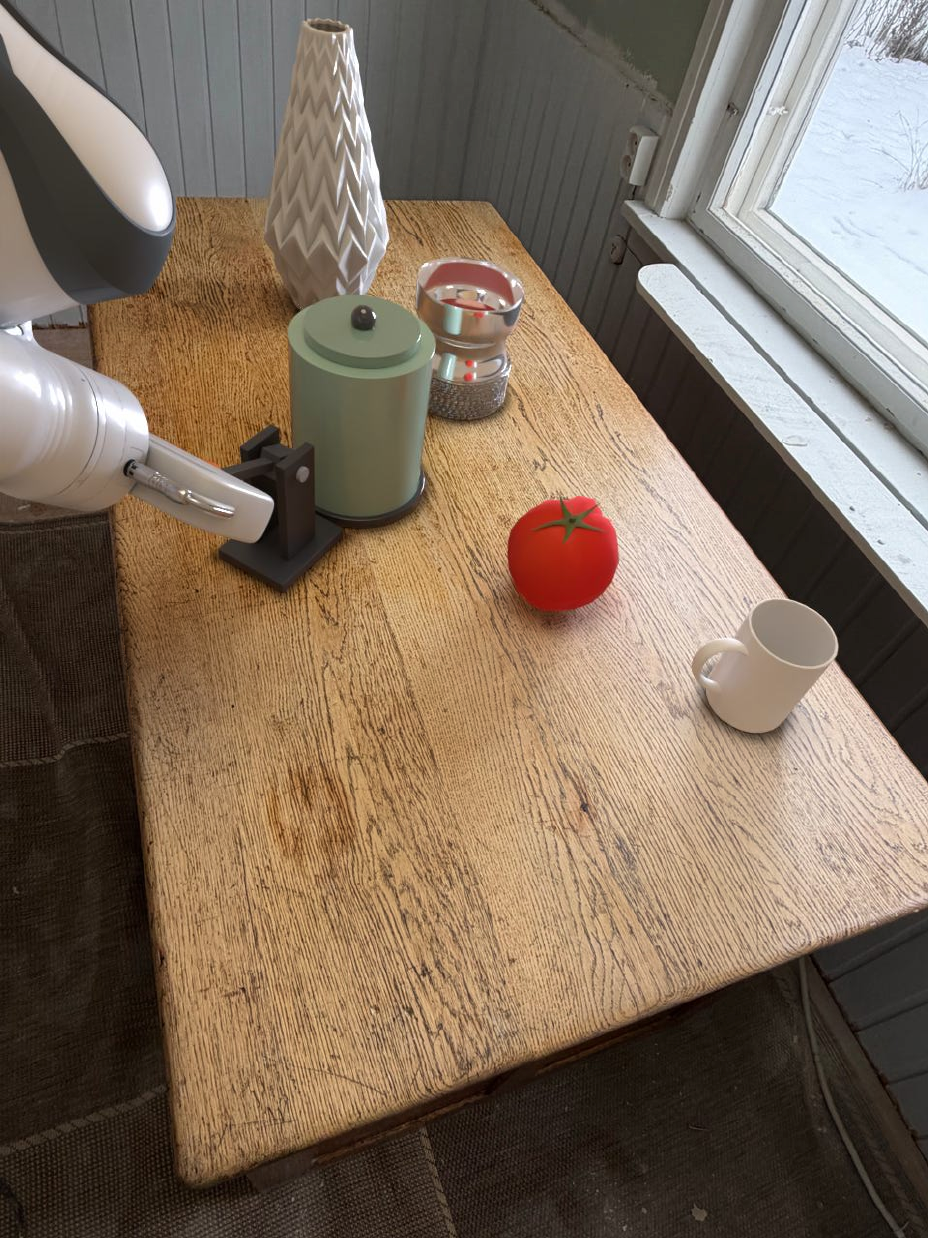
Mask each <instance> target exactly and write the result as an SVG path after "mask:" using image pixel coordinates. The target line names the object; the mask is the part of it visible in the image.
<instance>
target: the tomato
mask: <svg viewBox="0 0 928 1238" xmlns="http://www.w3.org/2000/svg"><path fill="white" fill-rule="evenodd" d="M558 497H559V499H546V500H545V501H542V502H540V503H539V504H537V505H536V506H534V507H532V508H530V509H529V510H527V511H526V513H525V514H523V515H522V516H521V517H520V518H519V519H517V521H516V523H514V525H513V526H512V528H511V530H510V532H509V535H508V539H507V552H506V554H507V565H508V572H509V574H510V576H511V579H512V582H513V584H514V587H515V590H516V591H517V593H518V594H520V596H521V597H522V598H523V599H524V600H525V601H526V602H527V603H528V604H529V605H530V606H531V607H534V608H535V609H538V610H540V611H542V612H543V611H544V612H546V611H547V612H562V611H574V610H577V609H579V608H582V607H584V606H587V605H590V604H591V603H593V602H594V601H595V600H597V599H598V598H599V597H600V596H602V595H603V594H604V593H605V592H606V591H607V589H608V588H609V587H610V586H611V584H612V583H613V580H614V577H615V574H616V571H617V570H618V566H619V563H620V553H619V543H618V537H617V531H616V528H615V527H614V525H613V524H612V522H611V520H610V519H609V518H607V517H605V516H604V514H603V511H602V509H601V508H600V506H599V505H600V504H601V502H599V503H597V501H595V499H594V498H591V497H586V496H583V495H576V496H574V497H571V498H569V499H567V500H565V499H563V498H562V496H560V495H559V496H558Z"/></svg>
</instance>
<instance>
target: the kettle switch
mask: <svg viewBox="0 0 928 1238" xmlns="http://www.w3.org/2000/svg"><path fill="white" fill-rule="evenodd" d="M293 451H295V450H293V449H292V447H289V446H287V445H285V444H283V443H281V442H280V443H279V444H275V445H270V446H266V447H262V450H261V455H260V459H256V460H252V461H248V462H244V463H241V462H240V463H236V464H233V465H232V464H231V465H228V466H224V467H220V466H219V465H218V464H216V463H215V462H213V461H212V460H209V459H204V458H200V459H201V460H203V461H205V462H207V463H209V464H211V465H213V466H214V467H216V468H218V469H220V470H222V471H224V472H226V473H228V474H230V475H232V476H234V477H236V478H237V479H239V480H241V481H243V480H244V479H247V478H251V477H255V476H258V475H262V474H263V475H265V476H267V477H269V478H271V479H273V480H275V481H276V467H275V466H276V464H278V463H279V462H280V461H282V460H283V459H284V458H286V457H287V456H288V455H289V454H291V453H292V452H293Z"/></svg>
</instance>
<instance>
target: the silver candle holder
mask: <svg viewBox="0 0 928 1238" xmlns="http://www.w3.org/2000/svg"><path fill="white" fill-rule="evenodd" d="M415 287H416V288H415V295H414V307H415V313H416V316H417V317H418V318H419V319H421V320H422V321H423V322H424V323H425V324H426V325H427V326H428V327H429V329H430V330H431V332H432V333H433V335H434V338H435V344H436V347H435V355H434V364H433V372H432V380H431V388H430V397H429V405H428V414H432V415H434V416H436V417H439V418H442V419H446V420H453V421H475V420H481V419H485V418H487V417H489V416H492V415H494V414H495V413H496V412H497V411H499V410H500V409H501V408H502V406H503V404H504V401H505V396H506V392H507V388H508V382H509V377H510V372H511V367H512V359H511V356H510V354H509V352H508V350H507V346H506V342H507V339H508V338H509V337H510V336H511V334H513V332H514V331H515V330H516V328H517V326H518V324H519V321H520V318H521V312H522V308H523V303H524V299H525V288H524V285H523V283H522V281H521V279H519V277H518V276H516V274H514V273H512V272H511V271H510V270H508V269H507V268H505V267H503V266H501V265H499V264H496V263H494V262H491V261H488V260H484V259H480V258H475V257H466V256H447V257H440V258H436V259H433V260H431V261H429V262H427V263H424V265H422V267H421V268H420V269H419V271H418V272H417V276H416V286H415Z"/></svg>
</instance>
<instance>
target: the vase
mask: <svg viewBox="0 0 928 1238" xmlns="http://www.w3.org/2000/svg"><path fill="white" fill-rule="evenodd" d="M300 29H301V30H300V34H299V36H298V42H297V46H296V52H295V61H294V63H293V66H292V70H291V77H290V87H289V96H288V99H287V104H286V108H285V112H284V116H283V120H282V127H281V130H280V134H279V141H278V144H277V145H278V146H277V151H276V155H275V157H274V164H273V173H272V177H271V182H270V187H269V191H268V195H267V202H266V210H265V214H264V219H263V227H264V231H263V241H264V242H265V243H266V245H267V246H268V248H269V249H270V251H271V252H272V254H273V260H274V265H275V268H276V270H277V273H278V274H279V276H280V278H281V280H282V283H283V284H284V286H285V288H286V290H287V291H288V294H289V295H290V298H291V300H292V303H293V304H294V306H295V307H296V308H297V309H298V310H299V312H300V311H302V310H303V309H305V308H307V307H309V306H311V305H314V304H315V303H317V302H319V301H321V300H324V299H326V298H330V297H334V296H340V295H367V294H368V293H369V291H370V288H371V286H372V283H373V282H374V279H375V277H376V272H377V269H378V267H379V263H380V262H381V261H382V260H383V258H384V256H385V255H386V251H387V245H388V244H389V241H390V234H389V233H390V232H389V228H388V227H389V226H388V224H387V212H386V207H385V204H384V201H383V197H382V193H381V189H380V171H379V168H378V165H377V161H376V157H375V152H374V148H373V144H372V132H371V128H370V125H369V121H368V118H367V113H366V109H365V105H364V104H365V98H364V95H363V94H364V93H363V86H362V80H361V75H360V69H359V68H360V65H359V61H358V57H357V53H356V49H355V43H354V42H355V41H354V29H353V28H352V27H350V25H349V24H347V23H342V22H341V21H340V20H337V21H336V20H335V21H333V20H332V19H330V18H326V19H325V18H324V19H322V18H319V17H316V18H315V19H313V18H307V19H306V20H302V21H301V28H300ZM294 301H295V302H297V303H298V304H299V305H298V304H297V303H295V302H294ZM300 307H301V308H300ZM302 308H303V309H302Z"/></svg>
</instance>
